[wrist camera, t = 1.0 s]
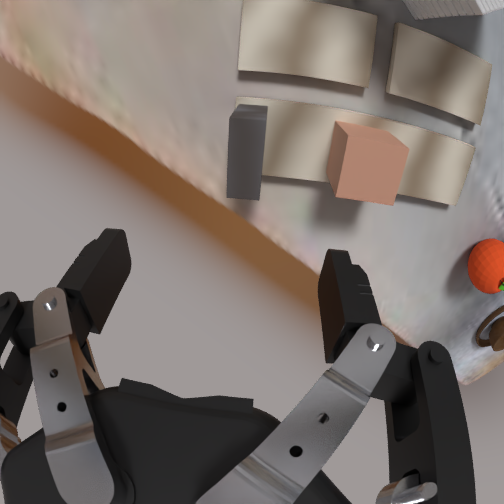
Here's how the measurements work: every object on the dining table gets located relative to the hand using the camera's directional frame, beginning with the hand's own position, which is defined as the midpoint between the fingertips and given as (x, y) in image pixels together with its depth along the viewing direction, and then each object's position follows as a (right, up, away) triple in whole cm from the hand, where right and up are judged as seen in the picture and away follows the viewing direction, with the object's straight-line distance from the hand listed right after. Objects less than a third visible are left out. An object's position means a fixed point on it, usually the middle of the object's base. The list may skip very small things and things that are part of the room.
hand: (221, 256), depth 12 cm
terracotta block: (+11, +9, +13) cm, 19 cm away
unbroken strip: (+12, +10, +14) cm, 21 cm away
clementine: (+32, 0, +20) cm, 38 cm away
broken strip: (+12, +17, +8) cm, 23 cm away
